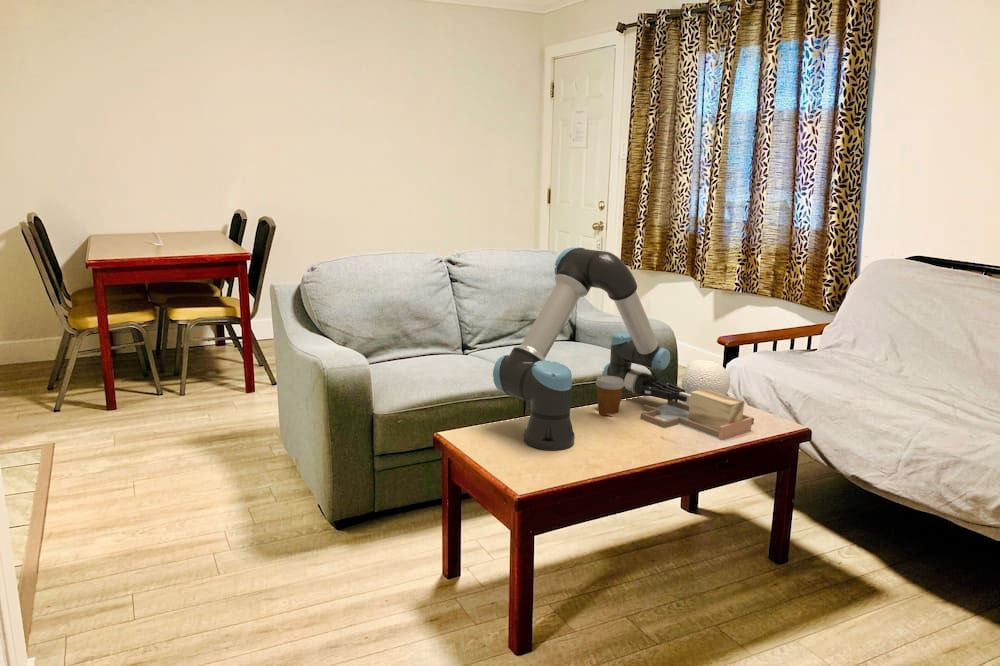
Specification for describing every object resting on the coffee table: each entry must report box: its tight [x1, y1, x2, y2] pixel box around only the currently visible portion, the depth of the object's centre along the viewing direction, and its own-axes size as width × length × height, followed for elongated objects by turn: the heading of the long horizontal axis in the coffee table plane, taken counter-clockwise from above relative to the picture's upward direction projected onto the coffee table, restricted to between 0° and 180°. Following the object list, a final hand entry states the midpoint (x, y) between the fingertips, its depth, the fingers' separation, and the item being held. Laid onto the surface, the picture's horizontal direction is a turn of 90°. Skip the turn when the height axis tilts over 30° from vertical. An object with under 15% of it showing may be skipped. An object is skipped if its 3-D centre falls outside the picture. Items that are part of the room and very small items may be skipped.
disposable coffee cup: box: [595, 375, 625, 418], centre depth 253 cm, size 10×10×12 cm
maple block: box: [688, 389, 745, 430], centre depth 241 cm, size 7×15×10 cm, turn 37°
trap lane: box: [639, 400, 755, 441], centre depth 247 cm, size 28×32×5 cm
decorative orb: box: [681, 359, 731, 396], centre depth 266 cm, size 20×18×16 cm
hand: (696, 401), depth 246 cm, fingers closed
